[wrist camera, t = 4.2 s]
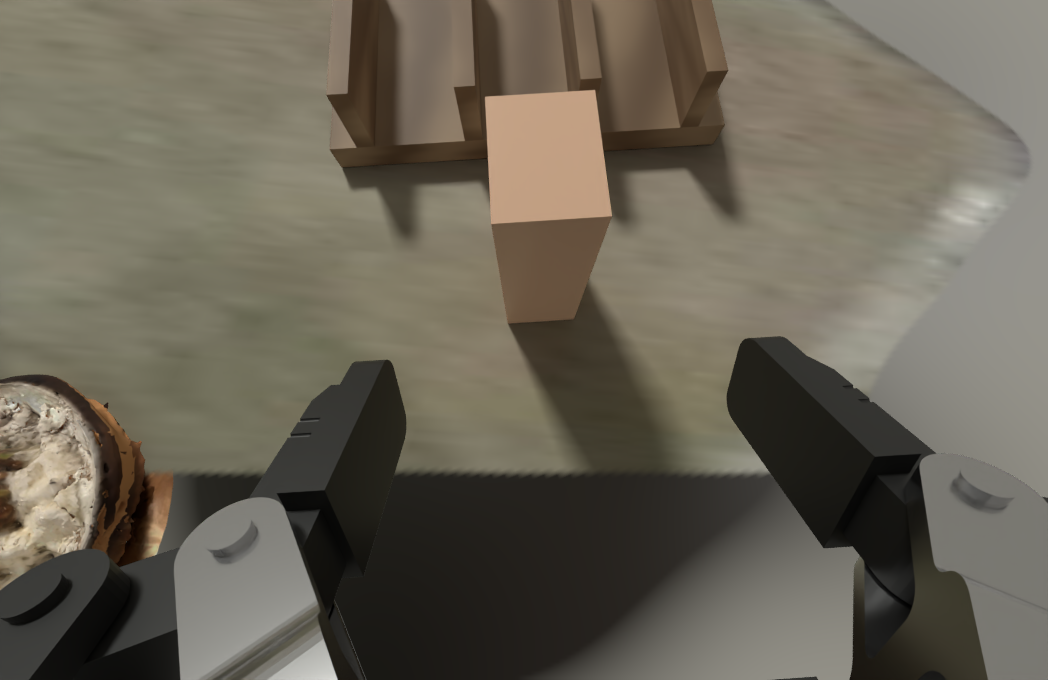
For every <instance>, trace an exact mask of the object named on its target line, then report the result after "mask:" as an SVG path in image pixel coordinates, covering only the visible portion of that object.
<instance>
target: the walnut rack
mask: <svg viewBox="0 0 1048 680" xmlns="http://www.w3.org/2000/svg"><path fill="white" fill-rule="evenodd" d="M727 72H728V67H727V63H726V59H725V55H724V50H723V46H722V42H721V38H720V34H719V29H718V25H717V21H716V17H715V13H714V8H713V4H712V0H333V3H332V18H331V32H330V47H329V61H328V75H327V90H326V95H327V97H328V99H329V101H330V102H331V104H332V120H331V136H330V151H331V152H332V154H333V155H334V157H335V158H336V160H337V161H338V163H339V164H340V166H341V167H355V166H371V165H387V164H403V163H419V162H435V161H451V160H467V159H483V158H488V147H487V128H486V108H485V97H489V96H505V95H522V94H538V93H554V92H570V91H587V90H595V93H596V101H597V108H598V115H599V123H600V130H601V138H602V145H603V151H612V150H628V149H644V148H660V147H676V146H692V145H708V144H713V143H714V142H715V140H716V138H717V137H718V135H719V133H720V132H721V130H722V129H723V127H724V125H725V123H724V119H723V115H722V110H721V106H720V101H719V97H718V92H717V90H718V88H719V87H720V85H721V83H722V81H723V79H724V77H725V75H726V74H727Z"/></svg>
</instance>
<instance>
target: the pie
mask: <svg viewBox="0 0 1048 680" xmlns="http://www.w3.org/2000/svg"><path fill="white" fill-rule="evenodd" d="M107 409H108V403H106V404H105V405H104V406H103V405H101V404H100V403H99V402H97V401H96V400H91V399H87V398H85V396H84V395H82V394H81V393H80V392H79V391H78V390H76V389H75V388H73V387H72V386H71V385H69V384H68V383H67V382H65V381H63V380H61V379H59V378H57V377H53V376H49V375H23V376H15V377H10V378H7V379H2V380H0V590H1V589H2V588H4V587H5V586H6V585H8V584H9V583H11V582H12V581H13V580H15V579H16V578H18V577H19V576H21V575H22V574H24V573H26V572H27V571H29V570H31V569H32V568H34V567H36V566H38V565H40V564H42V563H44V562H46V561H48V560H50V559H52V558H55V557H57V556H60V555H62V554H65V553H69V552H72V551H76V550H82V549H97V550H101V551H103V552H105V553H106V554H107V555H108V556H109V557H110V558H111V559H112V560H113V562H114V563H115V564H116V565H117V566H118V567H122V566H125V565H128V564H131V563H134V562H137V561H140V560H143V559H146V558H149V557H152V556H155V555H157V552H158V549H159V545H160V543H161V540H162V537H163V533H164V531H165V528H166V524H167V520H168V514H169V509H170V503H171V497H172V489H173V473H171V472H166V473H157V472H154V473H145V470H144V463H145V459H144V458H143V455H142V454H141V452H140V445H141V443H142V442H141V441H139V442H138V443H136V442H134V441H131V440H130V439H129V437H128V436H127V435H126V433H125V431H124V430H123V429H122V428H121V427H120V425H119V424H118V422H117V421H116V419H115V418H114V417H113V416H112V415H111V414H110V413H109V412H107ZM126 541H127V542H126Z"/></svg>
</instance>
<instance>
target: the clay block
mask: <svg viewBox="0 0 1048 680" xmlns="http://www.w3.org/2000/svg"><path fill="white" fill-rule="evenodd" d="M485 108H486V128H487V147H488V167H489V187H490V207H491V225H492V231H493V237H494V243H495V249H496V255H497V261H498V267H499V273H500V279H501V285H502V291H503V297H504V303H505V309H506V315H507V321H508V324H509V323H524V322H539V321H555V320H570V319H574V318H575V315H576V312H577V310H578V307H579V304H580V302H581V299H582V296H583V293H584V291H585V288H586V285H587V283H588V280H589V277H590V274H591V272H592V269H593V266H594V264H595V261H596V258H597V255H598V253H599V250H600V247H601V245H602V242H603V239H604V237H605V234H606V231H607V228H608V226H609V223H610V220H611V218H612V213H611V205H610V198H609V190H608V183H607V175H606V168H605V160H604V153H603V145H602V138H601V130H600V123H599V115H598V108H597V101H596V93H595V90H587V91H570V92H554V93H538V94H522V95H505V96H489V97H485Z"/></svg>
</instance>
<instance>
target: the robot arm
mask: <svg viewBox="0 0 1048 680" xmlns="http://www.w3.org/2000/svg"><path fill="white" fill-rule="evenodd" d="M727 407H728V411H729V414H730V416H731V418H732V420H733V421H734V423H735V424H736V425H737V427H738V428H739V430H740V431H741V432H742V434H743V435H744V437H745V438H746V439H747V441H748V442H749V444H750V445H751V446H752V448H753V449H754V451H755V452H756V454H757V455H758V456H759V458H760V459H761V461H762V462H763V463H764V465H765V466H766V468H767V469H768V470H769V472H770V473H771V475H772V476H773V477H774V479H775V480H776V482H777V483H778V484H779V486H780V487H781V488H782V490H783V492H784V493H785V494H786V496H787V497H788V499H789V500H790V501H791V503H792V504H793V506H794V507H795V508H796V510H797V511H798V513H799V514H800V515H801V517H802V518H803V520H804V521H805V523H806V524H807V525H808V527H809V528H810V530H811V531H812V532H813V534H814V535H815V537H816V538H817V540H818V541H819V542H820V544H821V545H822V546H823V548H835V547H850V546H853V547H854V549H855V550H856V551H857V552H858V554H859V555H860V557H859V558H858V560H857V561H856V563H855V565H854V589H853V593H854V594H853V661H852V662H853V663H852V671H851V676H850V680H1048V498H1045V497H1041V496H1040V495H1039V494H1038V493H1037V492H1036V491H1035V490H1033V489H1032V488H1031V487H1030V486H1028V485H1027V484H1025V483H1024V482H1022V481H1021V480H1019V479H1018V478H1016V477H1014V476H1013V475H1011V474H1009V473H1007V472H1005V471H1003V470H1001V469H999V468H997V467H995V466H992V465H990V464H987V463H985V462H982V461H979V460H976V459H973V458H969V457H965V456H960V455H956V454H945V453H941V454H936V453H935V452H934V451H933V450H932V449H930V448H929V447H928V446H927V445H925V444H924V443H923V442H922V441H921V440H919V439H918V438H917V437H916V436H914V435H913V434H912V433H911V432H910V431H908V430H907V429H906V428H905V427H903V426H902V425H901V424H900V423H899V422H897V421H896V420H895V419H894V418H892V417H891V416H890V415H889V414H888V413H886V412H885V411H884V410H883V409H882V408H880V407H879V406H878V405H877V404H875V403H874V402H870V401H869V398H868V397H867V396H866V395H865V394H863V393H862V392H861V391H860V390H858V389H857V388H855V389H854V388H853V385H852V384H851V383H850V382H849V381H847V380H846V379H845V378H844V377H843V376H841V375H840V374H839V373H838V372H836V371H835V370H834V369H832V368H830V367H828V366H826V365H824V364H822V363H820V362H818V361H816V360H814V359H812V358H810V357H808V356H806V355H805V354H804V353H803V352H802V351H800V350H799V349H798V348H797V347H796V346H795V345H793V344H792V343H791V342H790V341H789V340H788V339H786V338H784V337H781V336H777V337H761V338H747V339H745V340H743V341H742V343H741V344H740V346H739V349H738V353H737V357H736V361H735V364H734V368H733V372H732V376H731V380H730V383H729V387H728V391H727ZM405 435H406V414H405V410H404V406H403V402H402V398H401V394H400V390H399V387H398V383H397V379H396V375H395V371H394V368H393V365H392V363H391V362H390V361H389V360H376V361H359V362H354V363H353V364H352V365H351V366H350V368H349V370H348V372H347V373H346V375H345V377H344V378H343V380H342V382H341V384H340V385H331V386H329V387H328V388H327V389H326V390H325V391H323V392H322V393H321V394H320V395H318V396H317V397H316V398H315V399H314V400H312V401H311V403H310V404H309V406H308V408H307V409H306V411H305V412H304V414H303V415H302V417H301V418H300V422H298V423H297V425H296V426H295V428H294V429H293V431H292V432H291V437H290V438H287V440H286V442H285V443H284V445H283V446H282V448H281V449H280V451H279V452H278V454H277V456H276V457H275V459H274V460H273V462H272V463H271V465H270V466H269V468H268V469H267V471H266V473H265V474H264V476H263V477H262V479H261V480H260V482H259V484H258V485H257V486H256V488H255V490H254V491H253V493H252V494H251V496H250V497H249V499H246V500H242V501H239V502H237V503H234V504H232V505H229V506H227V507H225V508H224V509H222V510H220V511H218V512H216V513H215V514H213V515H212V516H210V517H209V518H207V519H206V520H205V521H204V522H203V523H201V524H200V525H199V526H198V527H197V528H196V529H195V530H194V531H193V532H192V533H191V534H190V535H189V536H188V537H187V539H186V540H185V542H184V543H183V544H182V546H181V547H180V548H177V549H174V550H170V551H167V552H164V553H162V554H158V555H155V556H152V557H149V558H146V559H143V560H140V561H137V562H134V563H131V564H128V565H125V566H122V567H118V566H117V565H116V564H115V563H114V562H113V560H112V559H111V558H110V557H109V556H108V555H107V554H106V553H105V552H103V551H101V550H97V549H82V550H76V551H72V552H69V553H65V554H62V555H60V556H57V557H55V558H52V559H50V560H48V561H46V562H44V563H42V564H40V565H38V566H36V567H34V568H32V569H31V570H29V571H27V572H26V573H24V574H22V575H21V576H19V577H18V578H16V579H15V580H13V581H12V582H11V583H9V584H8V585H6V586H5V587H4V588H2V589H1V590H0V680H366V678H365V676H364V673H363V671H362V668H361V665H360V663H359V660H358V658H357V655H356V653H355V650H354V648H353V645H352V642H351V640H350V638H349V635H348V632H347V630H346V627H345V625H344V622H343V619H342V617H341V614H340V612H339V609H338V607H337V604H336V602H335V601H334V599H335V596H336V593H337V590H338V587H339V584H340V581H341V578H350V577H364V573H365V570H366V567H367V563H368V560H369V557H370V554H371V550H372V546H373V543H374V540H375V537H376V533H377V530H378V527H379V523H380V520H381V517H382V513H383V510H384V507H385V503H386V500H387V497H388V493H389V490H390V487H391V483H392V480H393V477H394V473H395V470H396V467H397V463H398V460H399V456H400V453H401V450H402V446H403V443H404V440H405ZM777 680H818V679H817V677H805V678H792V679H777Z"/></svg>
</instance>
